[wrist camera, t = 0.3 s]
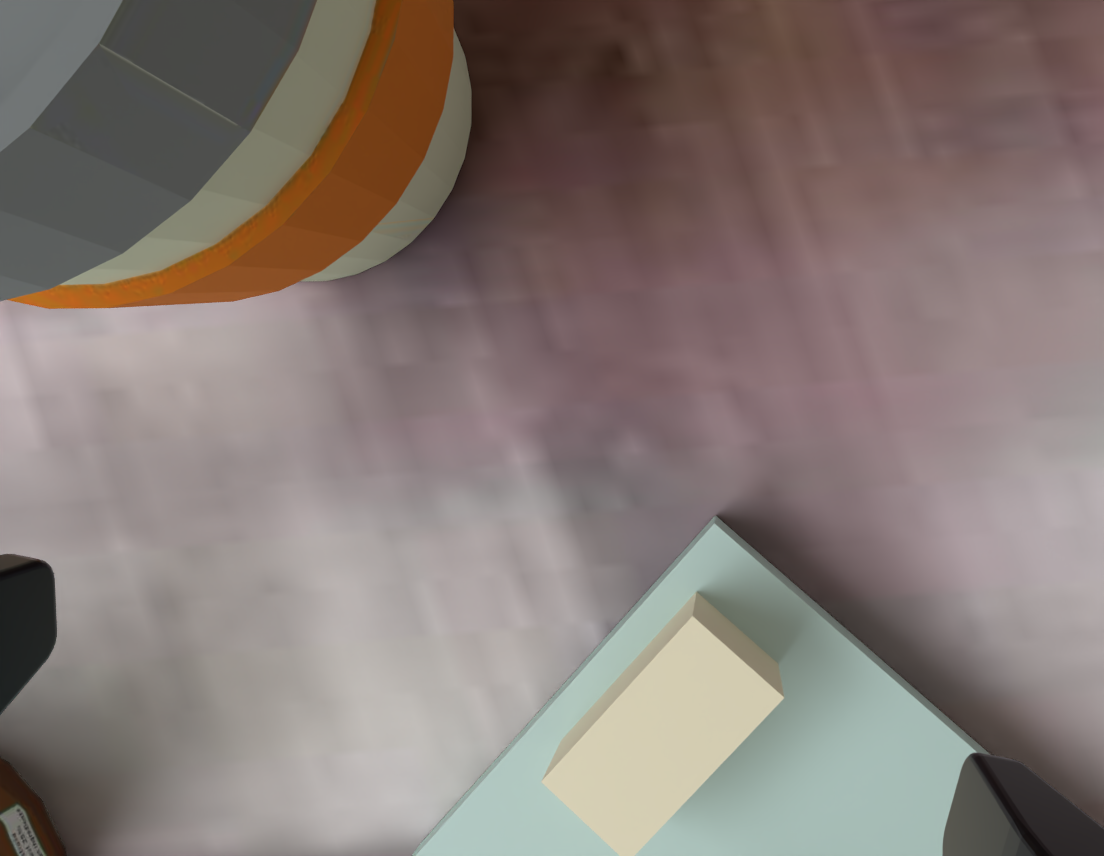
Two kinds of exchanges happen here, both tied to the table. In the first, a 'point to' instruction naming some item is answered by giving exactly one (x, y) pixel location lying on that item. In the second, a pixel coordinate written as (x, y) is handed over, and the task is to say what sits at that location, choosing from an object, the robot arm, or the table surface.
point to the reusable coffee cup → (219, 144)
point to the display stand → (720, 735)
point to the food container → (24, 819)
